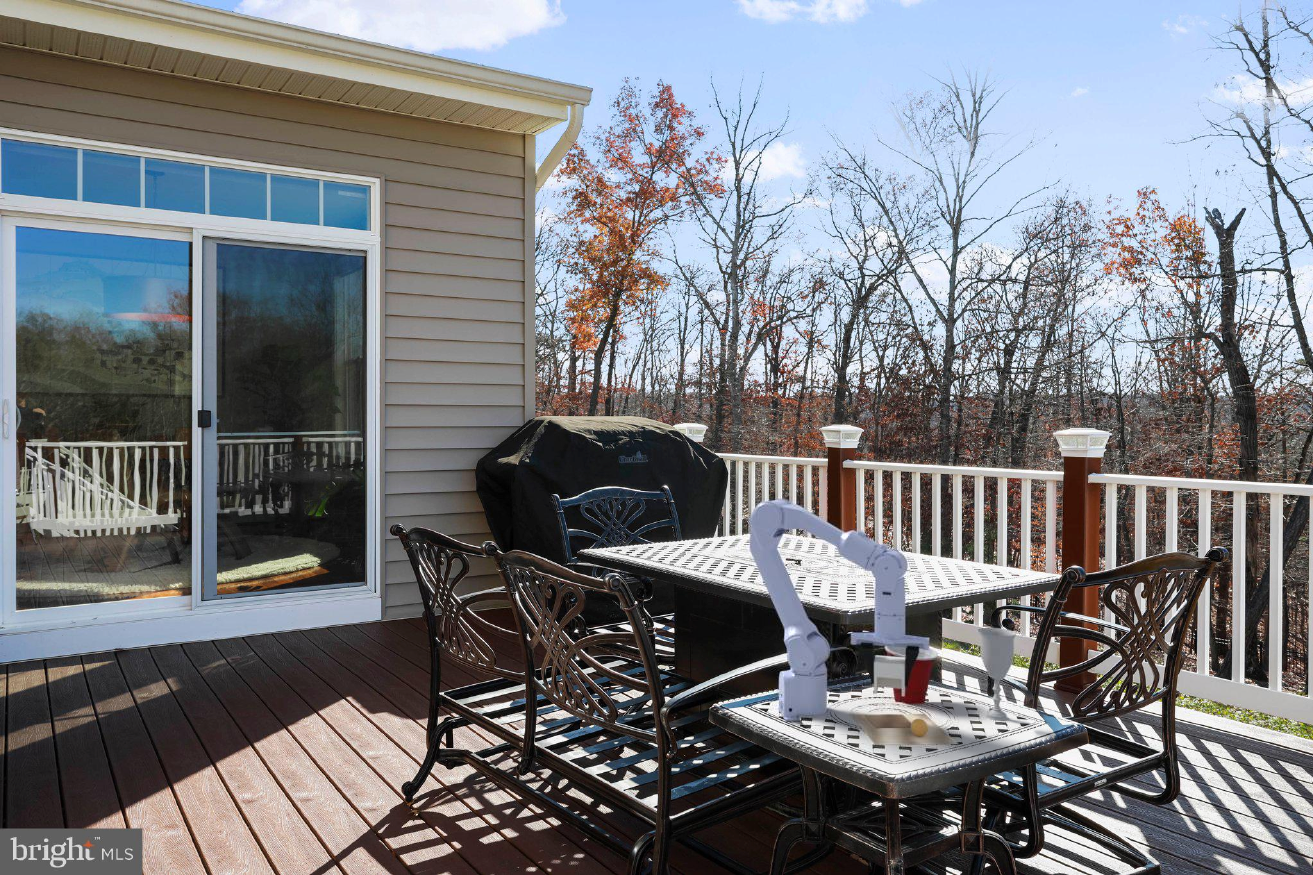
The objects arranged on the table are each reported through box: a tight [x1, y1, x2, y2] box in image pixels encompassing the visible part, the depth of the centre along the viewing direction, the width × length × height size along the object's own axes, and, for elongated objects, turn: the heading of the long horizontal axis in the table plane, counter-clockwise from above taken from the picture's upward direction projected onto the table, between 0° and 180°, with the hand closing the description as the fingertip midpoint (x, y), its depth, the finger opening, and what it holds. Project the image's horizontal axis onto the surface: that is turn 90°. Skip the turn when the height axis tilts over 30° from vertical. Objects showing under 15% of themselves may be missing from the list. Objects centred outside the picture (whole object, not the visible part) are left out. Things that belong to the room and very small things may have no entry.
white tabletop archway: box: [873, 654, 905, 696], centre depth 164 cm, size 6×6×6 cm
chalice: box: [977, 627, 1017, 722], centre depth 167 cm, size 7×7×18 cm
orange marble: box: [911, 719, 928, 736], centre depth 156 cm, size 3×3×3 cm
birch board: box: [849, 713, 959, 746], centre depth 160 cm, size 15×17×1 cm
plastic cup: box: [884, 646, 939, 705], centre depth 178 cm, size 11×11×12 cm
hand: (889, 683), depth 164 cm, fingers closed on white tabletop archway, 6 cm apart
